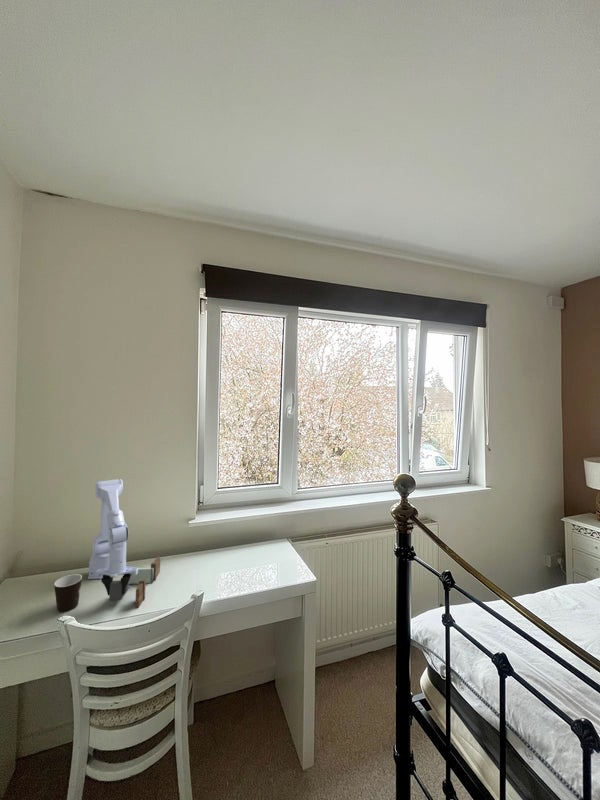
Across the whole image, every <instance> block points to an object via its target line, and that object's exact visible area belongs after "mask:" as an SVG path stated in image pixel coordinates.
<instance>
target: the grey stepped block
mask: <svg viewBox="0 0 600 800" xmlns="http://www.w3.org/2000/svg"><path fill="white" fill-rule="evenodd" d="M129 589H130V584H128V585H127V588H126V592H125V594H124V595H122V583H121V579H119V580H113V581H112V582H111V583H110V592H109V595H108V596H109V597H108V598H109V601H121V600H123V598H124V597H125V596H126V594H127V593H128V591H129Z"/></svg>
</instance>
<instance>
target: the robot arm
mask: <svg viewBox="0 0 600 800" xmlns="http://www.w3.org/2000/svg"><path fill="white" fill-rule="evenodd" d="M123 482H124V481H123V479H121V478H117V479H116V478H115V479H108V480H102V481H101V480H100V481H97V482H96V483H95V488H94V489H95V494H94V496H95V498H96V499H97V498H98V499H100V502H101V503H100V505H101V506H100V533H98V534H97V535H95V536H94V537H93V540H92V547H91V549H92V554H91V557H90V559H89V563H88V577H87V579H88V580H95V579H99V580H100V579H101V583H102V585H104V587H105V591H106V592H107V596H109V592H110V583H111V582H112V581H114V578H115V577H117V576H121V575H122V577H121V578H120V580H121V583H122V595H124V594H125V592H126V588H127V585H128V582H129V579H130V577H131V575H132V574H133V575H137V573H138V568H139V567H134V566H127V541H128V540H129V536H130V535H129V533H130V532H129V527H128V525H127V522H125V517H124V511H122V509H120V503H119V502H120V501H119V499H120V498H119V496H121V495H122V492H123V491H124V483H123ZM125 595H126V594H125ZM125 595H124V596H125Z"/></svg>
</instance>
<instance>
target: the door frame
mask: <svg viewBox="0 0 600 800" xmlns="http://www.w3.org/2000/svg"><path fill="white" fill-rule="evenodd" d="M150 568H154V576H153V582H156V580H157V577H158V576H159V574H160V572H161V556H160V555H159V556H156V558H155V559H154V561H153V562H152V561H151V563H150ZM145 582H146V580H140V581H139V583H138V586H137V588H135V609H138V608H140V607H141V604H143V601H145V599H146V583H145Z"/></svg>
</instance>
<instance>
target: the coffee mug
mask: <svg viewBox="0 0 600 800" xmlns="http://www.w3.org/2000/svg"><path fill="white" fill-rule="evenodd" d="M82 580H83V575H81V574H78V573H77V574H76V573H74V574H69V575H65V576H62V577H60V578H58V579H56V580H55V582H54V583H53V587H54V594H55V603H56V610H57V612H58V613H67V612H70V611H72V610H74V609H76V608H77V607H78V605H79V601H80V593H81V588H82V587H81V586H82Z"/></svg>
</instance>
